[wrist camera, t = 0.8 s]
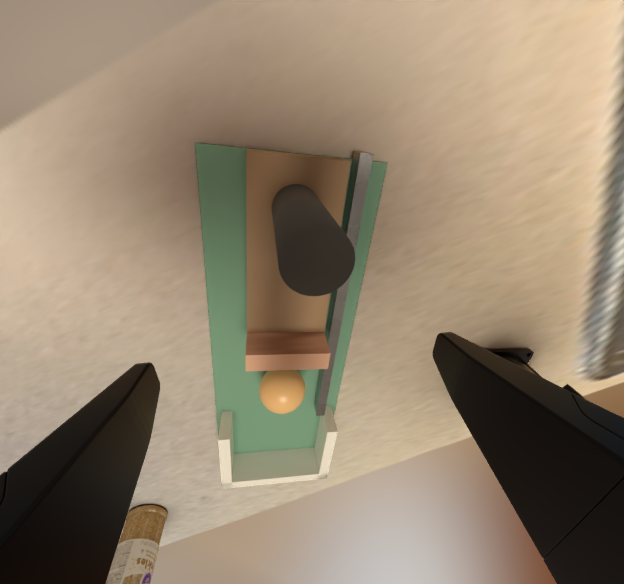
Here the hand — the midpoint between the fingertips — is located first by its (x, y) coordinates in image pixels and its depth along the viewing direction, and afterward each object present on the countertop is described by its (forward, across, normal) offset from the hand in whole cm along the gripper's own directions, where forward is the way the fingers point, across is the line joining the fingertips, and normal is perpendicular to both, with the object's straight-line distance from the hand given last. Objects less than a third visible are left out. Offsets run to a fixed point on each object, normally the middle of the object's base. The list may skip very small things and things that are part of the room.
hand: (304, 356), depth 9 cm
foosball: (+11, +1, +14) cm, 18 cm away
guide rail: (+13, -4, +7) cm, 15 cm away
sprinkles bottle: (+13, +18, +35) cm, 42 cm away
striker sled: (+13, -1, +2) cm, 13 cm away
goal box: (+13, +2, +23) cm, 26 cm away
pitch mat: (+13, 0, +11) cm, 17 cm away
